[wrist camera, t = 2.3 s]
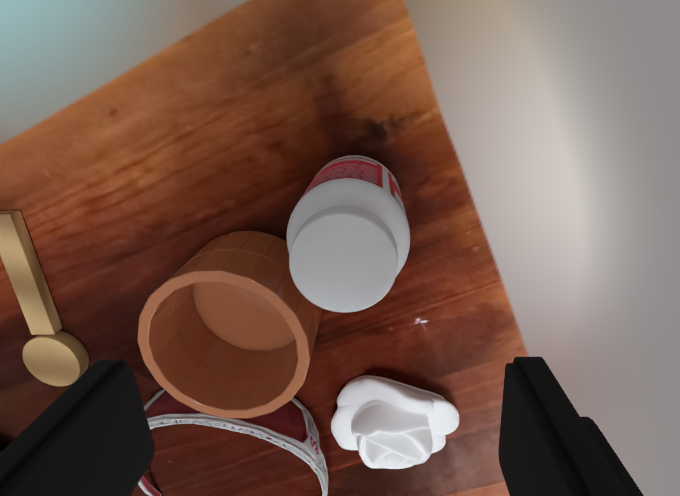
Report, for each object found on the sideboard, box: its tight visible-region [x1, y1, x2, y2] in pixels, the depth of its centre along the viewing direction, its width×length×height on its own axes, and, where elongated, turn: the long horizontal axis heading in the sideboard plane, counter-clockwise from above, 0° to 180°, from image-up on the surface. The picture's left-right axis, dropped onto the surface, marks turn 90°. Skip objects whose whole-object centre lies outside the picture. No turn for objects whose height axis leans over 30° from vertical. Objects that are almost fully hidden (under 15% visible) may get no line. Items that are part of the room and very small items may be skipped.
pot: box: [138, 231, 323, 418], centre depth 28 cm, size 10×10×7 cm
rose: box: [331, 375, 459, 469], centre depth 32 cm, size 10×4×10 cm
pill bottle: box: [287, 155, 410, 312], centre depth 23 cm, size 6×6×11 cm
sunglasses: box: [138, 389, 328, 496], centre depth 36 cm, size 17×17×5 cm
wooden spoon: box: [0, 210, 89, 386], centre depth 32 cm, size 15×5×1 cm, turn 4°
